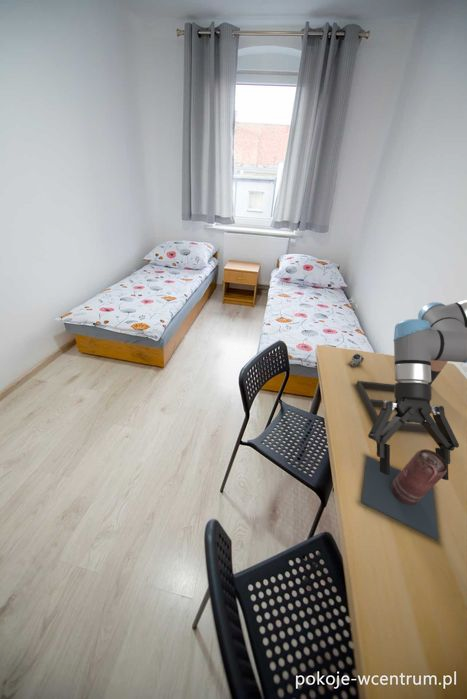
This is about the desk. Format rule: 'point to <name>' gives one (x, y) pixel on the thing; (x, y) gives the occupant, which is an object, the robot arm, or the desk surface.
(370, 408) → the frame
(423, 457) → the can
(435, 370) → the travel mug
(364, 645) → the desk surface
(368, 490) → the mat
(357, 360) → the wristwatch
